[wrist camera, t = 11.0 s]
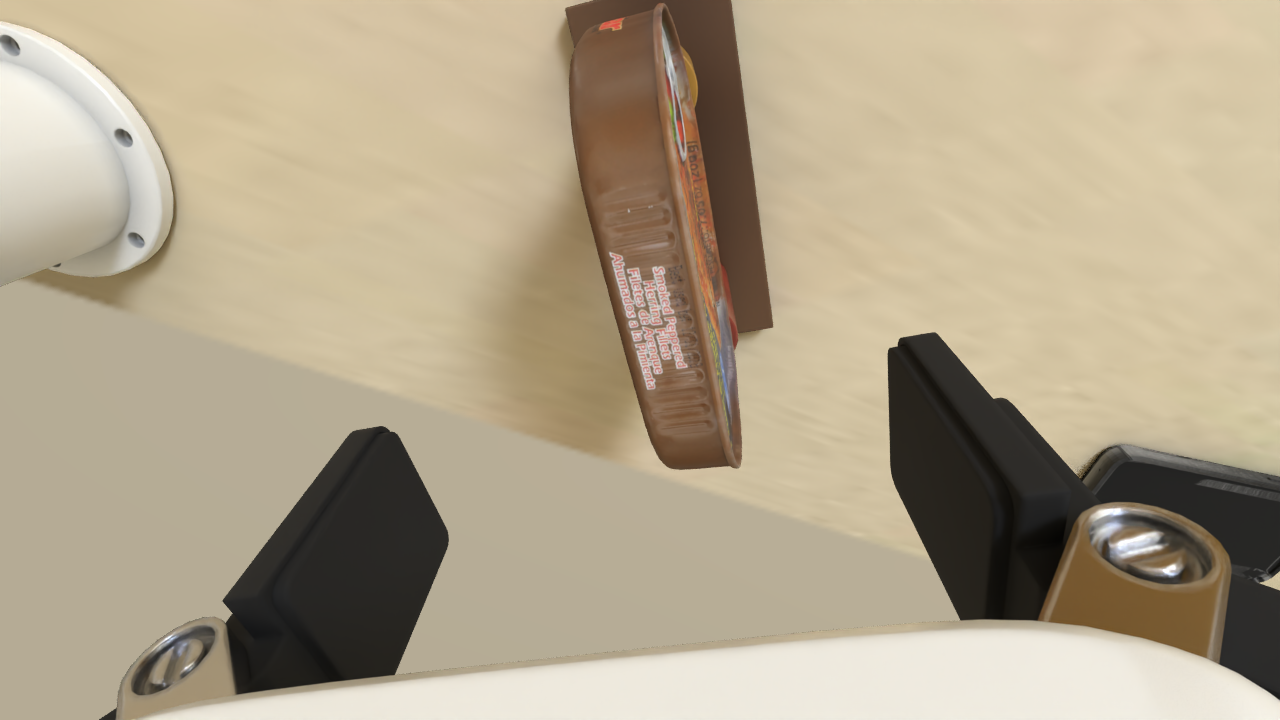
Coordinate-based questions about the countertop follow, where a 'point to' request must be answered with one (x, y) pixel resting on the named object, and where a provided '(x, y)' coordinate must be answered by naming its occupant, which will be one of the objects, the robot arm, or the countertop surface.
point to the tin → (657, 234)
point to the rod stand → (713, 141)
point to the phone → (1200, 500)
